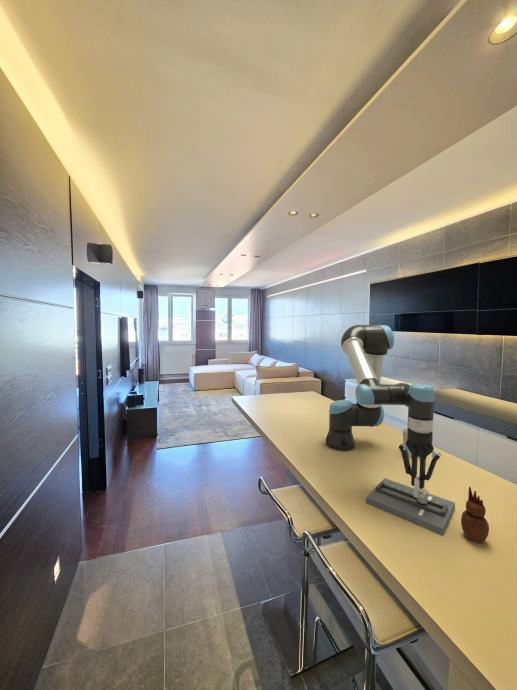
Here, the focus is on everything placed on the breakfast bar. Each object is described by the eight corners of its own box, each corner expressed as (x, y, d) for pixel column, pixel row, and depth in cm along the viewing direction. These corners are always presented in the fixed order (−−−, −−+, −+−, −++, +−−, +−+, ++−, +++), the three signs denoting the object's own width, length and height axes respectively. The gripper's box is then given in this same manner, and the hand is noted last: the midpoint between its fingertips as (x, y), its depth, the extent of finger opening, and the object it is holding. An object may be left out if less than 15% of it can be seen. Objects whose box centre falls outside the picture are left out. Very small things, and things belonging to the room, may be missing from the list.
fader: (415, 505, 101) (416, 492, 100) (419, 499, 104) (420, 487, 104) (425, 509, 99) (426, 495, 98) (429, 503, 102) (429, 490, 102)
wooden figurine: (456, 530, 92) (458, 484, 90) (473, 529, 92) (476, 483, 91) (473, 547, 85) (476, 497, 84) (492, 545, 85) (495, 496, 84)
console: (365, 502, 106) (366, 493, 106) (384, 482, 119) (384, 474, 119) (443, 535, 90) (443, 524, 89) (454, 508, 103) (455, 498, 102)
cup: (422, 459, 140) (423, 434, 139) (404, 457, 141) (405, 433, 141) (416, 452, 148) (417, 428, 147) (399, 450, 149) (400, 427, 148)
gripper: (396, 427, 102) (393, 493, 104) (439, 437, 93) (436, 508, 95) (403, 422, 108) (401, 484, 109) (444, 431, 99) (441, 498, 101)
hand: (417, 495), depth 102 cm, fingers closed
